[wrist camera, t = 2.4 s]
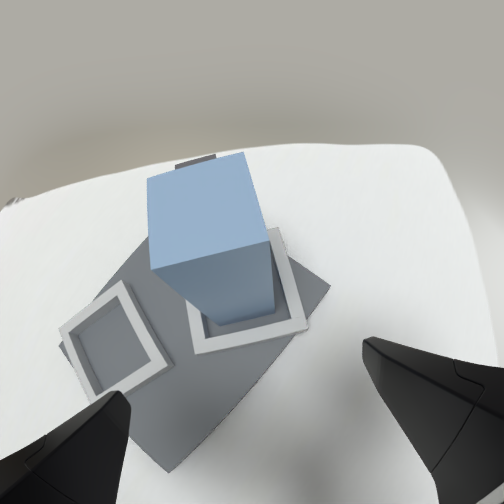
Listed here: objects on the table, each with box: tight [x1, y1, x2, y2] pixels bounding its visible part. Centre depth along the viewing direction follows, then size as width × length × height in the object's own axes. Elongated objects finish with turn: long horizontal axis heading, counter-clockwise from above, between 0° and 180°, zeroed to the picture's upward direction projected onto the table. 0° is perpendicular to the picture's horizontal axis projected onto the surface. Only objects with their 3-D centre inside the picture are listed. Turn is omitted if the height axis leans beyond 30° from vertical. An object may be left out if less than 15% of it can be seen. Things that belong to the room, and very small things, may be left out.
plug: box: [147, 152, 275, 326], centre depth 17 cm, size 5×4×13 cm
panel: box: [59, 227, 331, 473], centre depth 22 cm, size 22×17×2 cm
